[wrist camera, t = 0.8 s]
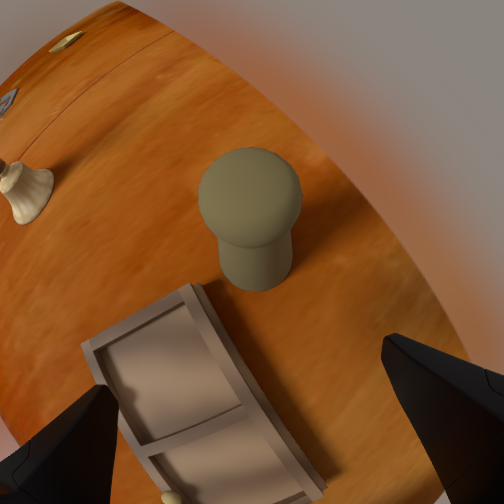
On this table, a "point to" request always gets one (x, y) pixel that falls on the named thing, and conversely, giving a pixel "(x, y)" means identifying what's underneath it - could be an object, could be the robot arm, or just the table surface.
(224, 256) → the olive pepper mill
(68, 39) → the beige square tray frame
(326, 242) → the table surface
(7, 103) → the grey hexagonal frame
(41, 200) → the hand bell
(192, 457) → the divided tray
